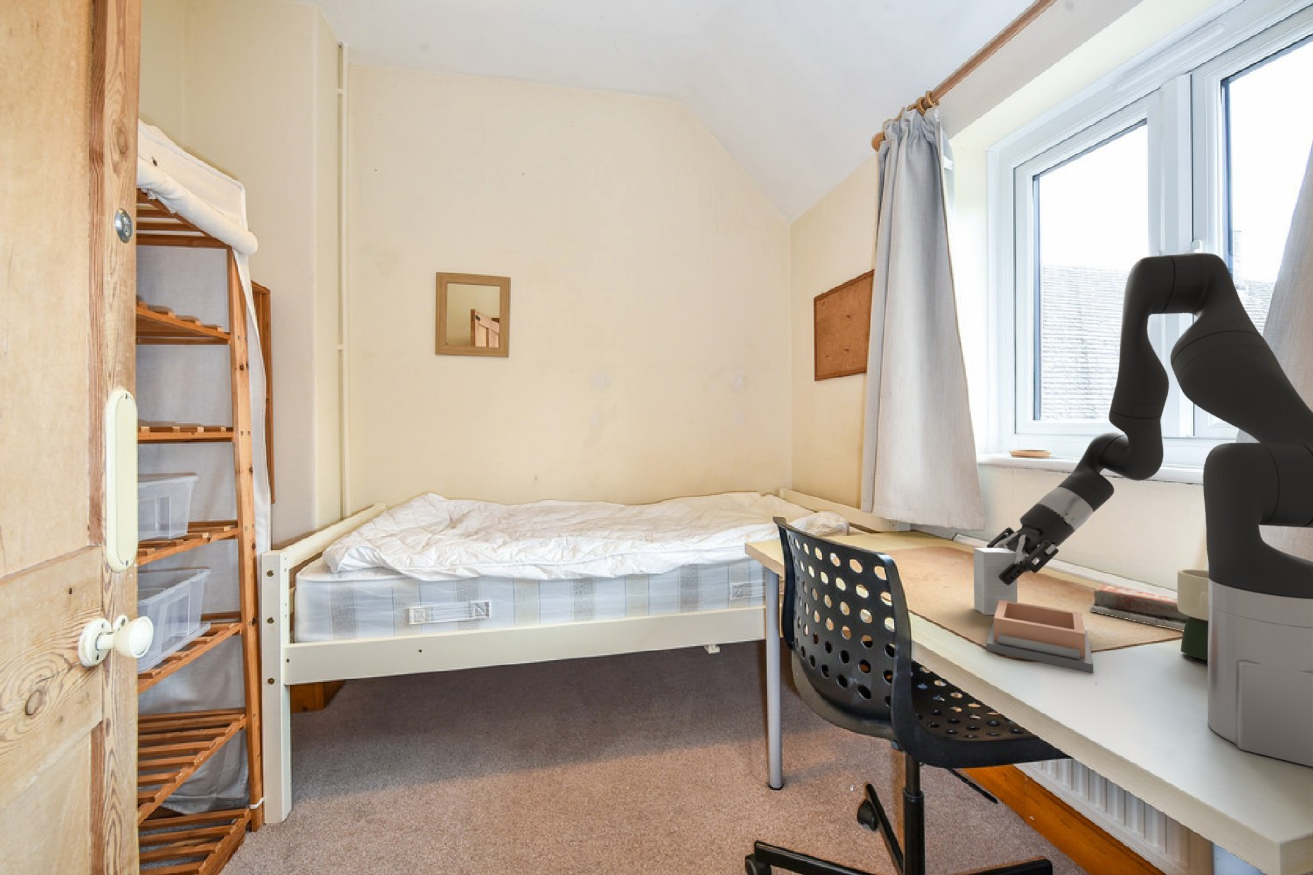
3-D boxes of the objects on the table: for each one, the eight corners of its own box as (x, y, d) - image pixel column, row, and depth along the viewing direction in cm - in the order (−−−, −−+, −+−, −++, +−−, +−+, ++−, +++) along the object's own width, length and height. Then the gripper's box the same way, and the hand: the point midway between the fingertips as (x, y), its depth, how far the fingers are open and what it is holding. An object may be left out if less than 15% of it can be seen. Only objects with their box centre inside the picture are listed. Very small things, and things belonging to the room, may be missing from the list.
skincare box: (1005, 608, 103) (1005, 547, 103) (1018, 616, 99) (1018, 552, 99) (972, 607, 104) (972, 547, 104) (983, 615, 99) (984, 551, 99)
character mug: (1240, 679, 73) (1241, 586, 73) (1170, 662, 79) (1170, 575, 79) (1249, 658, 80) (1249, 573, 80) (1183, 644, 86) (1183, 564, 86)
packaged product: (1088, 588, 101) (1103, 580, 107) (1088, 614, 101) (1103, 604, 107) (1225, 614, 87) (1234, 602, 93) (1225, 643, 87) (1233, 630, 93)
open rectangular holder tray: (1093, 672, 76) (1093, 640, 76) (986, 650, 83) (986, 620, 83) (1087, 637, 88) (1087, 609, 88) (995, 621, 96) (995, 595, 96)
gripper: (1019, 497, 107) (959, 552, 109) (1065, 507, 93) (995, 570, 95) (1047, 524, 107) (987, 579, 108) (1097, 538, 92) (1027, 601, 94)
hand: (991, 575), depth 101 cm, fingers open, 8 cm apart
